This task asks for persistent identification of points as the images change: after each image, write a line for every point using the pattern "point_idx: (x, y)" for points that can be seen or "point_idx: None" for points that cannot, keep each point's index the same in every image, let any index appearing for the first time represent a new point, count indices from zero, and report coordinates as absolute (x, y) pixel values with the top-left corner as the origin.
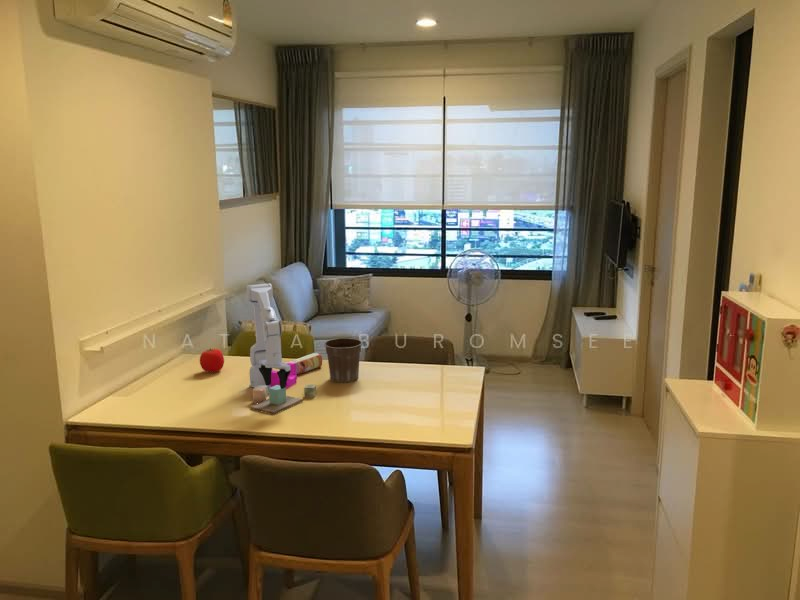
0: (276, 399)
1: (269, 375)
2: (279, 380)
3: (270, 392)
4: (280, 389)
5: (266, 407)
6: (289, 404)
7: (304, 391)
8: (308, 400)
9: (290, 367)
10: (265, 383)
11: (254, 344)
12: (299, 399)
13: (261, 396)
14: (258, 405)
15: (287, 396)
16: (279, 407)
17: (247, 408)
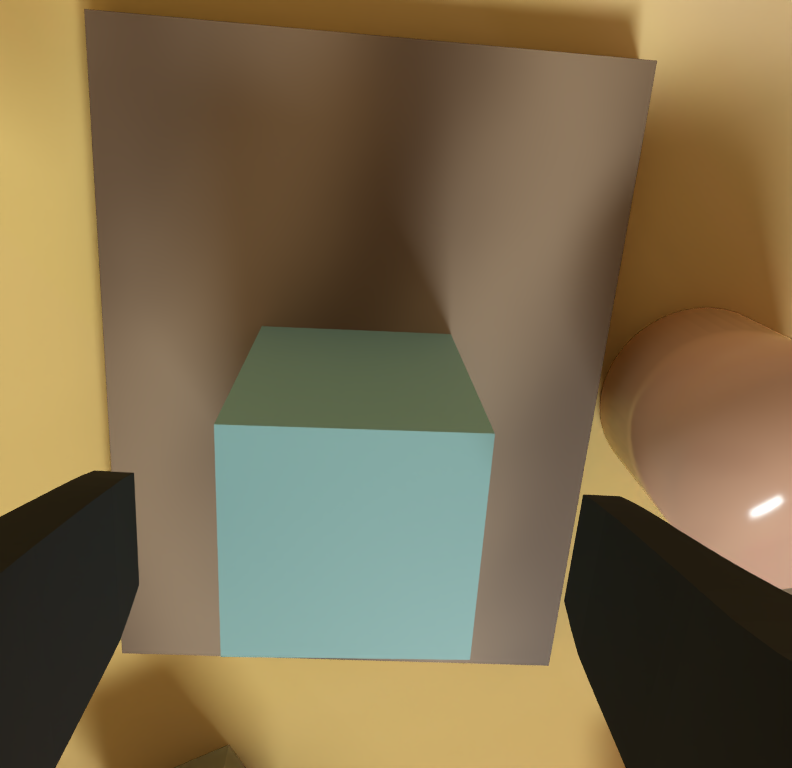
0: (291, 355)
1: (659, 765)
2: (13, 561)
3: (437, 398)
4: (220, 506)
5: (368, 150)
6: (126, 418)
7: None
8: (97, 685)
9: None
10: (642, 510)
11: None
12: (148, 625)
13: (662, 387)
14: (556, 169)
15: None
16: (167, 244)
17: (710, 72)
